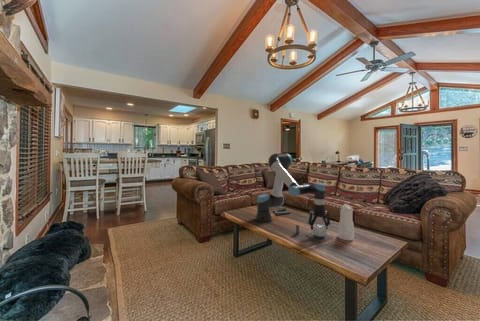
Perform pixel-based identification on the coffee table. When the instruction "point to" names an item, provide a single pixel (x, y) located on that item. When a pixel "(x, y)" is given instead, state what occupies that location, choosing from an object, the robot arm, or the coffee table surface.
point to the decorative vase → (346, 223)
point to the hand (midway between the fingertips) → (319, 233)
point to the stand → (297, 231)
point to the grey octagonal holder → (319, 230)
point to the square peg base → (319, 237)
